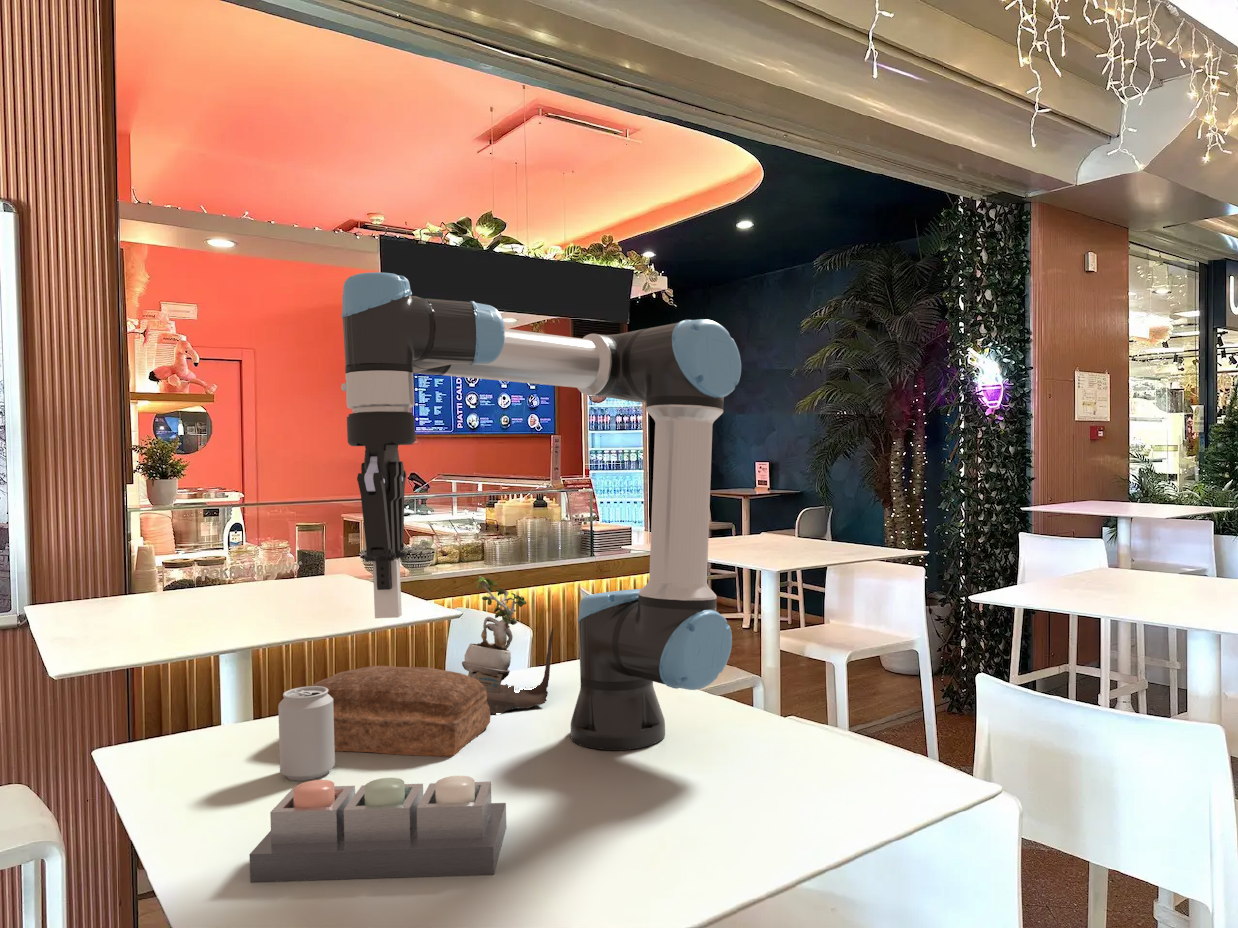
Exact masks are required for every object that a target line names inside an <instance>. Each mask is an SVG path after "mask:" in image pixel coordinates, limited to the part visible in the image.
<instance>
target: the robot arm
mask: <svg viewBox="0 0 1238 928" xmlns="http://www.w3.org/2000/svg"><path fill="white" fill-rule="evenodd" d="M341 297H342V300H341V302H342V303H341V306H342V307H341V315H340V316H341V319H342V329H343V347H344V349H343V350H344V361H345V362H344V364H345V365H344V367H345V368H344V371H345V382H344V383H342V384H341V387H340V388H341V391H343V392H345V394H346V395H345V396H346V398H345V399H346V407H347V409H348V410H352V413H348V416H346V431H347V432H346V437H347V443H348V445H349V446H351V447H364V449H365V450H364V459H363V462H362V463H361V466H360V467H361V468H360V470H361V473H357V477H356V481H357V484H358V489H359V493H360V501H361V502H360V503H361V511H362V519H363V529H364V538H365V539H364V540H365V548H366V551H365V552H366V556H364V561H365V563H367V562H372V575H373V601H374V602H373V605H374V619H392V618H394V619H395V618H400V617H401V616H402V615H403V614H402V590H401V588H402V587H401V565H400V564H401V562H400V560H401V559H402V558H403V559H404V558H407V554H408V553H407V552H408V551H403V550H404V549H405V548H404V547H405V544H404V542H405V541H404V538H405V534H404V533H405V531H404V530H405V528H404V527H405V523H404V522H405V487H406V478H407V473H406V472H407V471H406V470H404V469H405V468H404V462H403V461H401V460H400V454H399V449H398V448H399V446H408V445H409V446H410V445H413V444H414V443H415V442H416V422H415V421H416V420H415V416H416V415H414V414H413V412H411V411H410V409H412V408H413V407H414V406H415V405H416V403H415V386H414V383H415V382H414V374H417V375H418V374H419V375H420V374H421V375H431V376H447V377H459V378H468V379H469V378H470V379H481V380H490V381H492V380H493V381H501V382H502V381H503V382H512V383H513V382H514V383H522V384H523V383H525V384H534V385H544V386H546V385H547V386H555V387H567V388H575V389H576V388H577V390H578V391H579V392H580V393H581V394H584V395H586V396H594V397H603V398H611V399H614V400H615V399H616V400H621V401H627V402H635V403H641V404H642V403H643V404H645V412H646V413H648V414H649V416H651V418H652V420H653V421H654V423H655V425H654V444H653V445H654V448H653V452H654V453H653V472H652V473H653V475H652V477H653V479H652V497H651V498H652V501H651V521H650V522H651V524H650V525H651V526H650V527H651V528H650V531H651V532H650V551H649V552H650V553H649V575H648V577H649V578H648V582H647V583H646V584H645V585H644V586H643V587H642V588H636V589H635V588H634V589H623V590H621V589H620V590H615V591H604V592H599V593H593V594H592V593H591V594H588V595H586V596H584V597H582V598H581V600H580V601H579V605H578V618H577V623H578V645H579V648H578V649H579V651H578V652H579V672H580V673H579V674H580V675H579V677H580V678H579V679H580V689H579V693H578V697H577V700H576V703H575V705H574V706H575V707H574V710H573V713H572V717H571V720H570V738H571V740H572V741H573V742H574V743H576V744H577V745H580V746H582V747H585V748H590V749H596V750H603V751H605V750H607V751H622V750H624V751H625V750H634V749H639V748H640V749H641V748H645V747H648V746H652V745H654V744H657V743H659V742H660V741H662V740H663V739H664V738H665V736H666V721H665V717H664V714H663V712H662V711H663V710H662V708H661V706H660V702H659V699H658V696H657V694H656V691H655V687H654V682H655V683H657V684H661V685H665V686H667V687H668V688H672V689H675V690H677V689H684V690H688V691H696V690H701V689H704V688H706V687H708V686H709V685H711V684H712V683H714V681H716V680H717V678H718V676H719V675H720V674H721V673H722V672H723V671H724V670H725V668H726V665H727V664H728V662H729V659H730V656H731V652H732V647H733V634H732V629H731V626H730V625H729V624H728V621H727V619H726V618H725V617H724V616H723V615H722V614H720V613H719V611H717V599H718V597H717V594H716V593H715V592H714V591H713V590H712V588H710V586H709V584H708V563H709V562H708V561H709V538H710V537H709V534H710V533H709V531H710V506H711V505H710V504H711V503H710V502H711V480H712V478H711V476H712V453H713V452H712V449H713V447H712V446H713V445H712V444H713V424H714V422H715V421H716V420H718V418H720V416H721V415H723V414H724V402H725V401H724V400H725V399H724V398H725V397H727V396H729V395H730V394H731V393H733V391H735V389H736V386H738V384H739V382H740V380H741V379H740V378H741V374H742V361H741V354H740V351H739V348H738V346H737V345H738V344H737V343H736V342H735V339H734V338H732V337H731V335H730V332H729V331H728V330H727V329H726V327H724V326H723V325H722V324H720V323H718V322H716V321H714V320H711V319H708V318H707V319H706V318H705V319H704V318H703V319H702V318H700V319H684V320H681V321H679V322H674V323H670V324H665V325H664V324H663V325H659V326H654V327H649V328H642V329H638V330H632V331H627V332H622V333H617V334H598V333H589V334H587V335H584V336H583V338H580V337H573V336H572V337H571V336H564V335H556V334H550V333H549V334H548V333H542V332H541V333H540V332H534V331H528V330H527V331H526V330H519V329H512V328H505V323H504V319H503V316H502V315H501V313H500V312H499V310H498V309H497V308H496V307H494V306H492V305H490V304H486V303H478V302H475V301H474V300H470V301H461V300H459V301H458V300H449V299H448V300H447V299H436V298H427V297H426V298H424V297H419V296H416V295H413V293H412V290H411V285H410V281H409V279H408V278H406V277H405V276H404V275H398V274H396V273H390V272H378V271H376V272H374V271H371V272H361V273H356V274H353V275H351V276H349V277H347V279H346V280H345V281H344V283H343V287H342V296H341Z"/></svg>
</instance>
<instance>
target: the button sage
mask: <svg viewBox="0 0 1238 928" xmlns="http://www.w3.org/2000/svg"><path fill="white" fill-rule="evenodd" d="M404 784H405V781H404V780H403V779H402V778H398V777H382V778H378V779H373V780H371V781H369V782H367V783H366V784H365V787H364V790H365V806H373V805H402V804H403V803H404V801H405V787H404Z"/></svg>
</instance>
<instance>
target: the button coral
mask: <svg viewBox="0 0 1238 928" xmlns="http://www.w3.org/2000/svg"><path fill="white" fill-rule="evenodd" d="M334 786H335V783H334V782H333V781H332V780H328V779H312V780H307V781H304V782H301V783H300V784H298V785H296V786H294V787H293V788H294V789H293V788H292V789H293V796H294V808H307V807H330V806H331V805H332V804H333V802H334V801H335V794H334Z"/></svg>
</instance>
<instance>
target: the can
mask: <svg viewBox="0 0 1238 928" xmlns="http://www.w3.org/2000/svg"><path fill="white" fill-rule="evenodd" d="M328 690H329V689H327V688H326V687H321V686H312V685H310V686H300V687H295V688H291V689H289V690H286V691H284V692H283V693H282V696H283V699H282V700H281V701H280V702H279V703H278V706H277V707H278V708H277V710H278V711H277V712H278V740H279V741H278V743H279V744H278V745H279V746H278V747H279V772H280V774H282V775H283V776H284V777H285V778H286V779H288V780H290V781H295V782H298V781H312V780H317V779H319V778H321V777H324V776H326V775H327V774H328V773H329V772H330V770H331V769H333V768H334V767H335V764H336V753H335V752H336V751H335V747H334V709H333V698H332V697H331V696H330V695H329V694H328V693H327V692H328Z"/></svg>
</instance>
